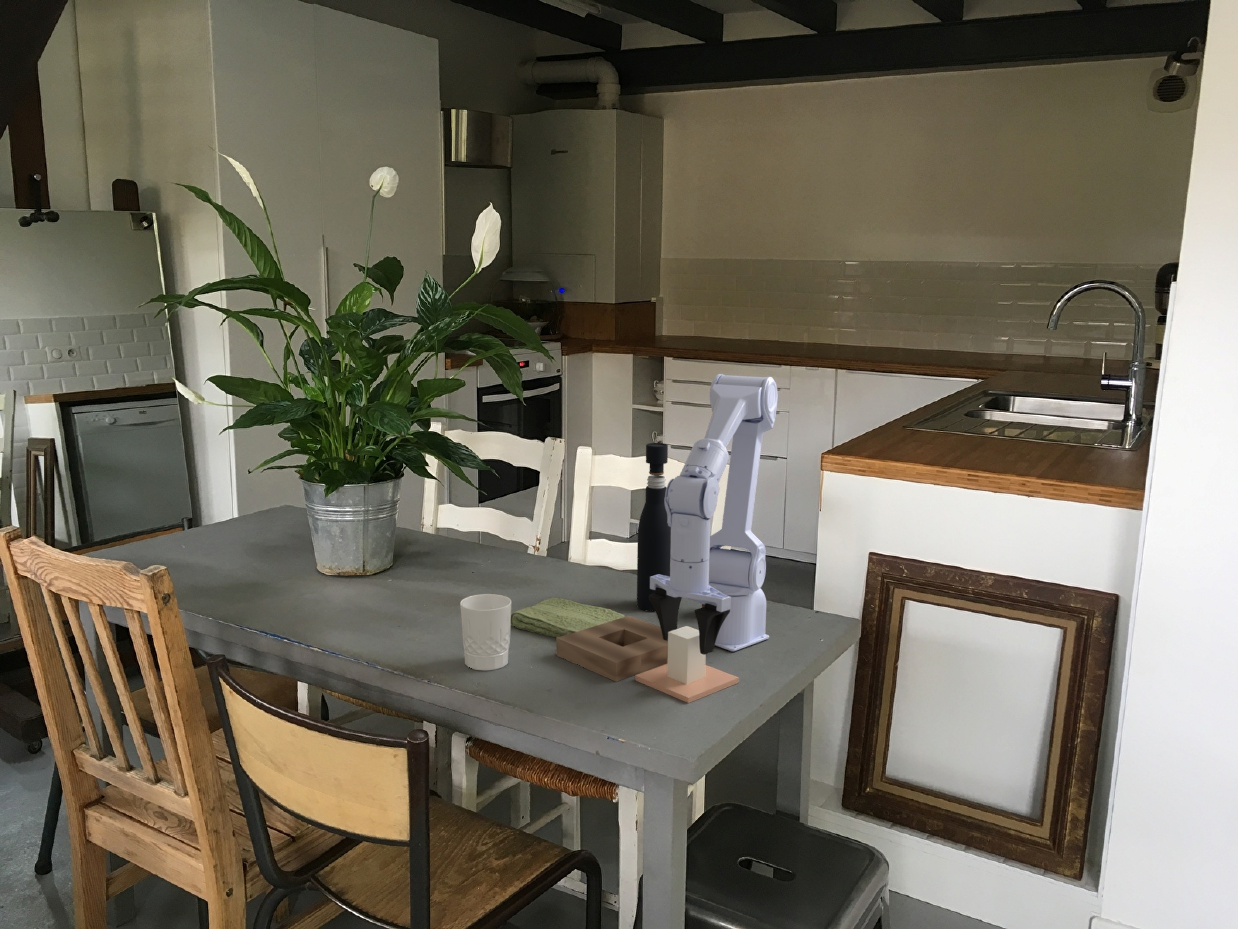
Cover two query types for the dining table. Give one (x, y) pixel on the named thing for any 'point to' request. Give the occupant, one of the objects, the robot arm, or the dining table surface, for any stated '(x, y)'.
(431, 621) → the dining table surface
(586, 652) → the brown board with hole
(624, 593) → the dining table surface
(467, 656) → the white cup
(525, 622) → the washcloth
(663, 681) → the tile
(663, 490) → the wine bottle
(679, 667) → the plug
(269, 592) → the dining table surface
